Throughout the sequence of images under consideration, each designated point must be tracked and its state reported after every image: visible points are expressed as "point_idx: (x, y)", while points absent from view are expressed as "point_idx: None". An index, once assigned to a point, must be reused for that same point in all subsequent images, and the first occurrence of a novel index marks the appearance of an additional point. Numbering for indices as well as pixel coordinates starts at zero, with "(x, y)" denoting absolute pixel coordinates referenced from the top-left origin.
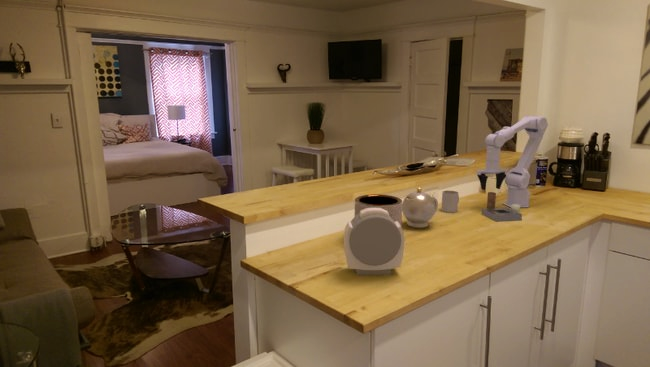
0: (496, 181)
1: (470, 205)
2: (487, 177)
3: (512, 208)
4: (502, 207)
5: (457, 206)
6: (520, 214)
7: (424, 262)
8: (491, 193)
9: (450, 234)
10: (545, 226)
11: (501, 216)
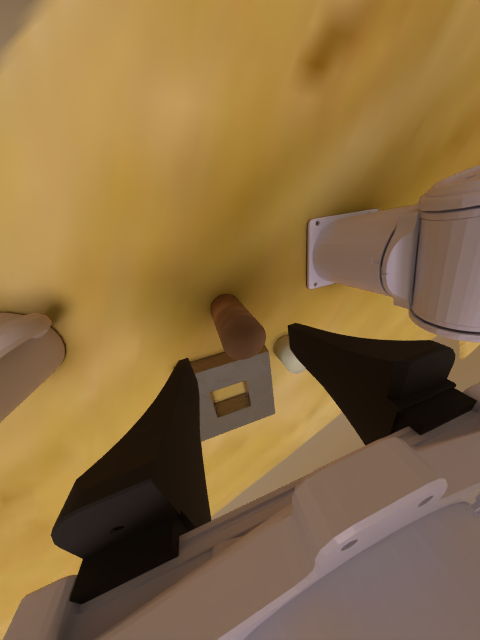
0: (320, 343)
1: (150, 240)
2: (208, 519)
3: (281, 361)
4: (255, 355)
5: (49, 371)
6: (271, 414)
7: (4, 631)
8: (237, 350)
9: (49, 535)
10: (292, 427)
11: (214, 434)
